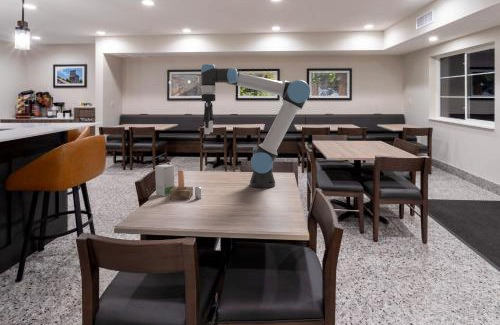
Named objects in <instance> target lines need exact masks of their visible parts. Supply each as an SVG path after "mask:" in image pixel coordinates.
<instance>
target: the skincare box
mask: <svg viewBox="0 0 500 325" xmlns="http://www.w3.org/2000/svg"><path fill="white" fill-rule="evenodd" d="M154 170H155V172H154V173H155V174H154V175H155V195H156V196H162V197H166V196H170V190H171V189H172V188H173V187H174V186H176V185H175V164H167V163H165V164H159V165H155V166H154Z"/></svg>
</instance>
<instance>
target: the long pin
mask: <svg viewBox="0 0 500 325" xmlns="http://www.w3.org/2000/svg"><path fill="white" fill-rule="evenodd" d="M177 177H178V178H177V182H178V183H177V185H178V190H184V187H185V170H184V169H178V170H177Z"/></svg>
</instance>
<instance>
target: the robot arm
mask: <svg viewBox="0 0 500 325" xmlns="http://www.w3.org/2000/svg"><path fill="white" fill-rule="evenodd" d="M200 69H201V71H200V77H201V78H200V80H201V84H200V85H201V86H200V90H201V102H204V110H203V113H204V114H203V119H202V122H203V124H204V126H203V127H204V135H211V133H213V132H214V121H215V119H214V111H213V106H214V105H213V102H216V94H217V92H216V90H217V89H216V84H218V83H225V84H227V85H231V86H236V87H240V88H245V89H246V88H247V89H249V90H255V91H259V92H263V93H269V94H272V95H277V96H280V97H281V98H282V99H281V101H282V105H281V106H280V109H279V110H278V113H277V115H276V117H275V118H274V121H273V122H272V125H271V126H270V128H269V131H268V132H267V135H266V136H265V138H264V140H263V142H262V143H260V144H258V146H254V147H253V148H252V157H251V159H250V165H251V168H252V174H251V177H250V180H249V186H250V187H253V188H256V187H257V189H268V187H270V188H273V186H274V187H275V186H276V179H275V177H274V173H273V172H274V171H273V166H274V162H275V160H276V159H277V157H278V149H279V147H280V145H281V143H282V141H283V140H284V137H285V135H286V133H287V131H288V130H289V128H290V126H291V123H292V122H293V120H294V118H295V116H296V115H297V112H298V111H301V110H302V109H303V107H304V105H305V103H306V102H307V100H308V99H309V98H310V95H311V87H310V85H309V84H308V82H306V81H305V80H303V79H295V80H293V81H288V80H284V81H280V80H276V79H270V78H267V77H266V78H265V77H261V76H256V75H252V74H248V73H242V72H238V69H237V68H232V67H227V68H223V67H222V68H217V67H216V65H215V64H211V63H207V64H202V65H201V67H200Z"/></svg>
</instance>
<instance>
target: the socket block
mask: <svg viewBox="0 0 500 325" xmlns="http://www.w3.org/2000/svg"><path fill="white" fill-rule="evenodd" d="M193 196H194V187H193V186H184V190H178V186H177V185H175V186H174V187H173V188H172V189H171V190H170V195H169V200H173V201H174V200H175V201H176V200H178V201H179V200H181V201H183V200H185V201H188V200H191V198H192V197H193Z"/></svg>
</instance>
